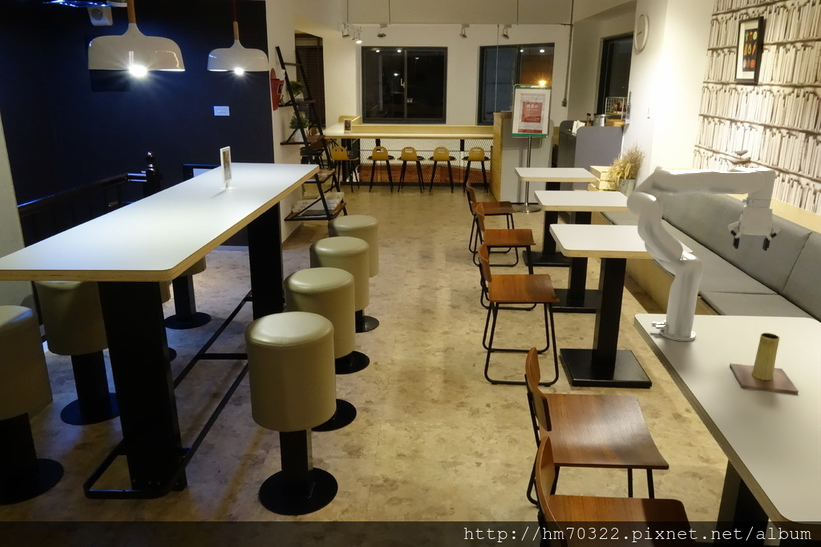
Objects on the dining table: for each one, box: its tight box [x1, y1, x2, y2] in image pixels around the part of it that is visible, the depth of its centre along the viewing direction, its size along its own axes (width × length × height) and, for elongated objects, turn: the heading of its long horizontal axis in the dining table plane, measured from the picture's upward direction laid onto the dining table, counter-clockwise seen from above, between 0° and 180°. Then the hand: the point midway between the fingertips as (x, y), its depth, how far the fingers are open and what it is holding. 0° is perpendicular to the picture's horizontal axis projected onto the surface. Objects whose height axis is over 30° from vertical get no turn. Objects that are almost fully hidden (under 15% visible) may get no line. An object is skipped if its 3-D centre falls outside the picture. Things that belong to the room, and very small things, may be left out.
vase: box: [752, 332, 780, 380], centre depth 201 cm, size 6×6×14 cm
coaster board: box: [729, 362, 799, 395], centre depth 203 cm, size 16×16×1 cm
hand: (750, 248), depth 230 cm, fingers open, 9 cm apart
